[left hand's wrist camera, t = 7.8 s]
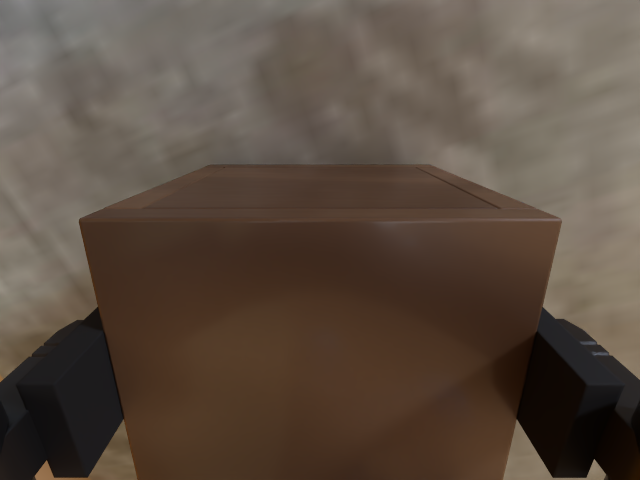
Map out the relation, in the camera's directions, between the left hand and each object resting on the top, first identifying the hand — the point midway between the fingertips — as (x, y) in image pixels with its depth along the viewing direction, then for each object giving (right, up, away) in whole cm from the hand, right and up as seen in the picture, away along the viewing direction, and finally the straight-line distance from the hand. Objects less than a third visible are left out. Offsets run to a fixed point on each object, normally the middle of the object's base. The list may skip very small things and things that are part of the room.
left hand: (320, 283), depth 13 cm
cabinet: (0, -3, +6) cm, 6 cm away
